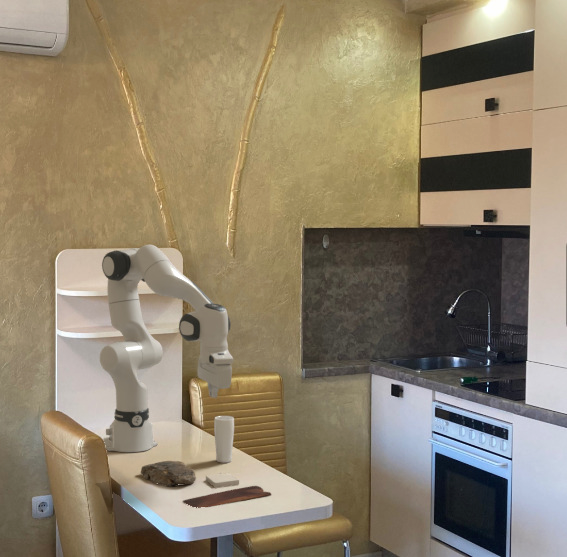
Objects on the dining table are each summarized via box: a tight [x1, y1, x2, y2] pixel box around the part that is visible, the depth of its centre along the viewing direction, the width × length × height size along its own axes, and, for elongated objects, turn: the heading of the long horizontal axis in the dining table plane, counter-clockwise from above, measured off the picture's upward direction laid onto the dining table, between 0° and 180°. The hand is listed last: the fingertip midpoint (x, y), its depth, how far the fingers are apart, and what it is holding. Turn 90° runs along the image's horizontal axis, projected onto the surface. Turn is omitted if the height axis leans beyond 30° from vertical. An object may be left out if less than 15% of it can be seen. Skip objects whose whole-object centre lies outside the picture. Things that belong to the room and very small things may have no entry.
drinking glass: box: [213, 415, 235, 464], centre depth 298 cm, size 7×7×15 cm
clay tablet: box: [140, 460, 197, 487], centre depth 277 cm, size 14×5×20 cm
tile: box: [205, 472, 240, 488], centre depth 274 cm, size 2×8×8 cm
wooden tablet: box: [182, 485, 272, 509], centre depth 260 cm, size 26×2×10 cm
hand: (213, 397), depth 282 cm, fingers closed
